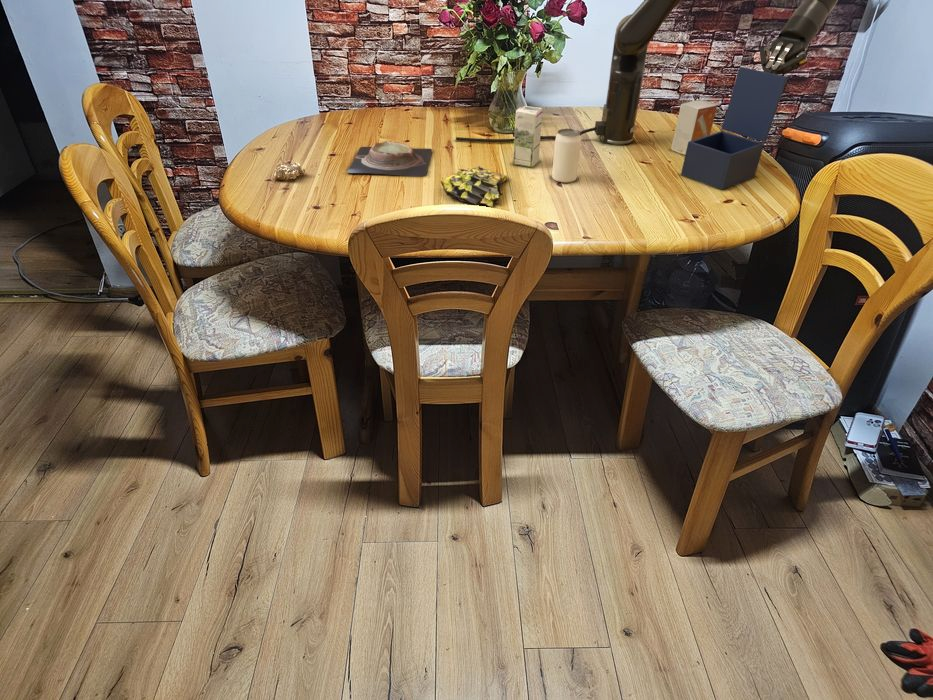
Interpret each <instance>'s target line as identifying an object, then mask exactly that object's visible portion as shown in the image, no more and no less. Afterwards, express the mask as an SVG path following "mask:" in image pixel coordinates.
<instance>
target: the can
mask: <svg viewBox="0 0 933 700" xmlns="http://www.w3.org/2000/svg"><path fill="white" fill-rule="evenodd" d="M580 132H581V131H580V130H578V129H575V128H560V129H558V130H557V134H556V135H555V136H556V139H554V150H553V160H552V161H553V162H552V169H551V170H552V171H551V178H552V179H553V180H554V181H555V182H558V183H561V184H570V183H574V182H575V181H576V180H577V179H578V171H579V164H580V155H581V147H582V146H581V145H582V137H581V136H582V135H581V136H580Z"/></svg>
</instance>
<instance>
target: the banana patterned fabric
mask: <svg viewBox="0 0 933 700" xmlns="http://www.w3.org/2000/svg"><path fill="white" fill-rule="evenodd" d="M508 176H509V175H508V174H502V173H499V172H495V171H492V170H491V169H486V168H485V167H482V166H481V165H478V166H477V165H476V166H475V167H473V168H468V169H465V170H458V171H457V172H456V173H454V174H453V175H449V176H447V177H441V179H440V184H441V186H442V188H443V190H444V192H445V194H446V196H449V197H451V198H453V199H456V200H458V201H460V202H465V203H467V204H470V205H475V206H478V205H481V204H484V205H486V206H488V207H490V208H493V206H494V203H497V202H499V200H500V199H501V198H500V196H503V193H502V191H501V187H500V186H501V185H502V184H503V183H504V182H506V181H507V180H508Z"/></svg>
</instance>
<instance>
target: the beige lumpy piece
mask: <svg viewBox="0 0 933 700" xmlns="http://www.w3.org/2000/svg"><path fill="white" fill-rule="evenodd" d="M304 174H306V168H302V166H301V163H300V162H293V163H286V164H285V163H283V164H281V165H277V168H276V169H275V172H274V175H273V179H274V180H279V181H283V180H284V179H287V180H288V179H291V180H295V179H297V178H298V177H301V175H304Z"/></svg>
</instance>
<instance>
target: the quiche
mask: <svg viewBox="0 0 933 700" xmlns="http://www.w3.org/2000/svg"><path fill="white" fill-rule="evenodd" d="M432 153H433V150H432V148H412V147H411V146H410V145H407V144H405V143H403V142H396V141H395V142H394V141H391V140H385V141H381V142H378V143H375V144H373V145H372V146H360V147H359V148H358V151H357V153H356V155H355V158H354V159H353V161H352V163H351V164H350V165H349V168H348V169H347V171H346V173H347V174H375V175H390V176H391V175H392V176H402V177H406V176H407V177H424V176H426V175H427V173H428V167H429V162H430V159H431V156H432Z"/></svg>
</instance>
